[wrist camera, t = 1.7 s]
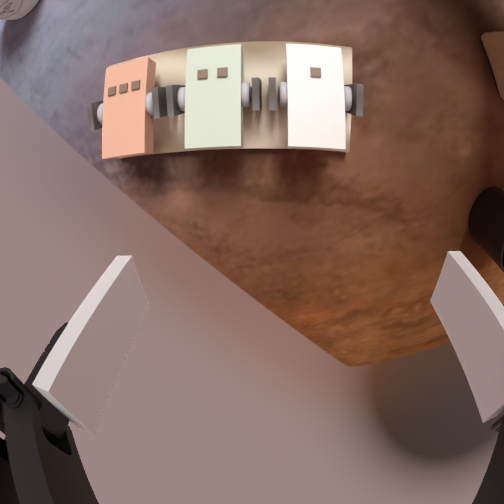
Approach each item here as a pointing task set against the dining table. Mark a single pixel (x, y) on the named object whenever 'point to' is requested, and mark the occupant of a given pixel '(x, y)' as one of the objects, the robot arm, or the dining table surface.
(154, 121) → the pastel toggle block board
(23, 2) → the mug
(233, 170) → the dining table surface
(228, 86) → the key two
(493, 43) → the wooden block
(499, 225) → the mug
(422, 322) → the dining table surface
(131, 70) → the key three
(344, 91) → the key one
